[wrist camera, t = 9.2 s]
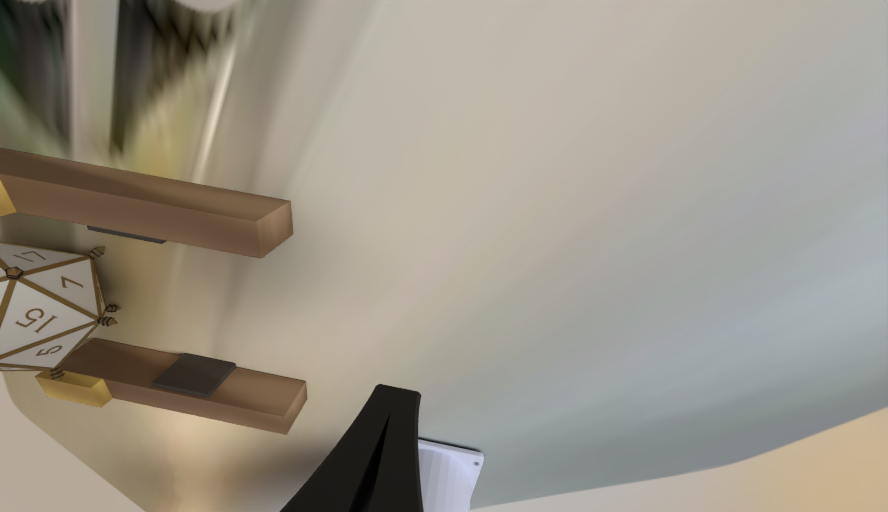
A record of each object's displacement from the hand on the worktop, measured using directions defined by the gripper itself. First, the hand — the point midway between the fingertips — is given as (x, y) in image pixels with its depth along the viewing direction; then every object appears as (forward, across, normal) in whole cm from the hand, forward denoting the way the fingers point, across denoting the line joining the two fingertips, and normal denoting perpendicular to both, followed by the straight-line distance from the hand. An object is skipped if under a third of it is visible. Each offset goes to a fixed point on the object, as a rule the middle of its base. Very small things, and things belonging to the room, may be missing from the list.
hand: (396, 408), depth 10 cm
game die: (+10, +23, +6) cm, 26 cm away
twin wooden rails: (+9, +17, +6) cm, 20 cm away
